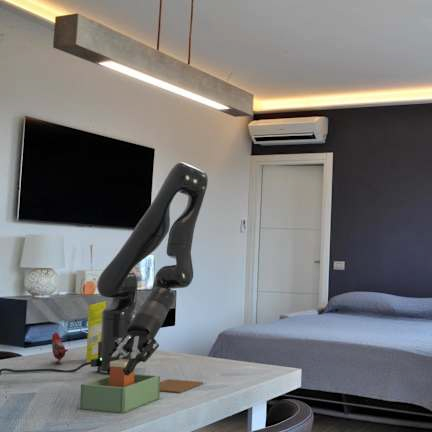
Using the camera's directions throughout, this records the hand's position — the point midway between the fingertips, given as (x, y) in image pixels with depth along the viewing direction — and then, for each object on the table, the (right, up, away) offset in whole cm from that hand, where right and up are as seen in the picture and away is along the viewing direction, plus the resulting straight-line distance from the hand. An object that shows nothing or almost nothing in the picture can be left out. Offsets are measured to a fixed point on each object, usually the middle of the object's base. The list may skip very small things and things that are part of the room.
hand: (117, 372), depth 153 cm
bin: (0, -8, +1) cm, 9 cm away
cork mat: (+8, -9, +20) cm, 24 cm away
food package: (-34, -11, +58) cm, 68 cm away
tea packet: (0, -8, +1) cm, 9 cm away
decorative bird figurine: (-42, -10, +49) cm, 65 cm away
